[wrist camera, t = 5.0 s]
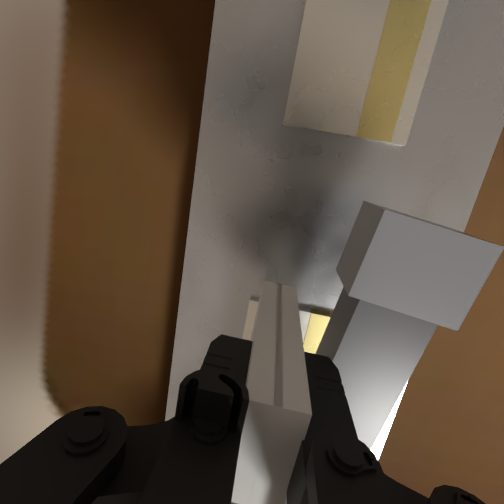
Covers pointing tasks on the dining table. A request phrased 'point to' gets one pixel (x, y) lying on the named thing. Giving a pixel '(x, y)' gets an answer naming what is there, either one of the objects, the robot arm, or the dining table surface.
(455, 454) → the dining table surface
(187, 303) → the plate
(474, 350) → the dining table surface
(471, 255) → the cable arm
